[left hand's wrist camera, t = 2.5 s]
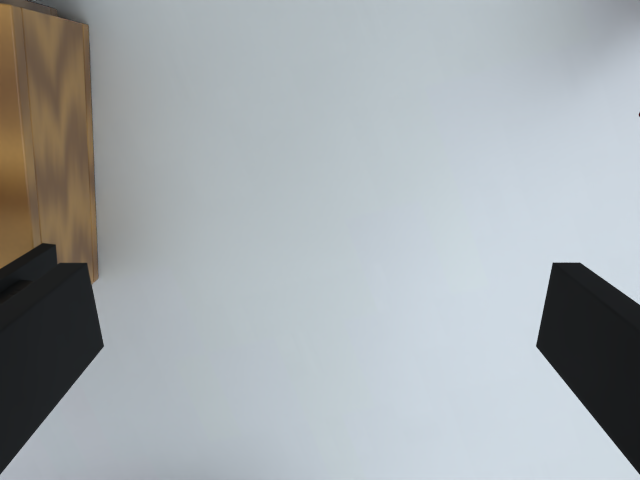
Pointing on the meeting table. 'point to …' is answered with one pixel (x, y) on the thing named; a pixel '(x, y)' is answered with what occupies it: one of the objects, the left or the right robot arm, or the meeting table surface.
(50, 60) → the cabinet
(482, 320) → the meeting table surface
